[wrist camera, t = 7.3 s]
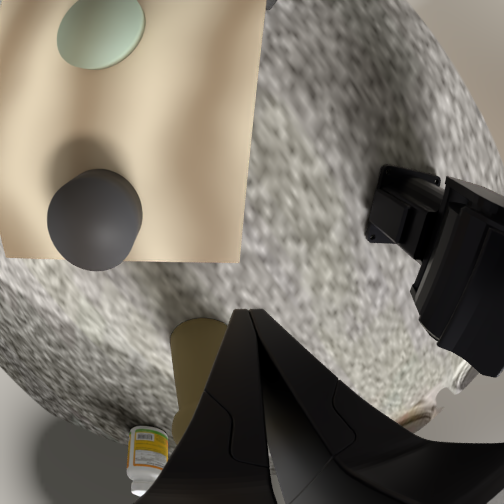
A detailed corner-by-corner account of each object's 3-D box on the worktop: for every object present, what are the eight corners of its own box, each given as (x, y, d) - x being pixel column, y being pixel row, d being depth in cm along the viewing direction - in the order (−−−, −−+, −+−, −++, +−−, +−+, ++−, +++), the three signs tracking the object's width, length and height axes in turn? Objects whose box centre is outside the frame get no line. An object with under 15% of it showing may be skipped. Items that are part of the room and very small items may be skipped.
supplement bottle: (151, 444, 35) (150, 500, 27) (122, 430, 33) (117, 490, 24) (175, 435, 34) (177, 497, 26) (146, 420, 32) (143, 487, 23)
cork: (158, 346, 26) (150, 453, 16) (194, 306, 24) (198, 424, 14) (209, 371, 28) (219, 470, 19) (249, 336, 27) (273, 443, 17)
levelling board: (266, -33, 11) (280, -59, 7) (236, 250, 19) (243, 281, 16) (15, -4, 8) (-13, -15, 5) (15, 247, 16) (-8, 273, 13)
